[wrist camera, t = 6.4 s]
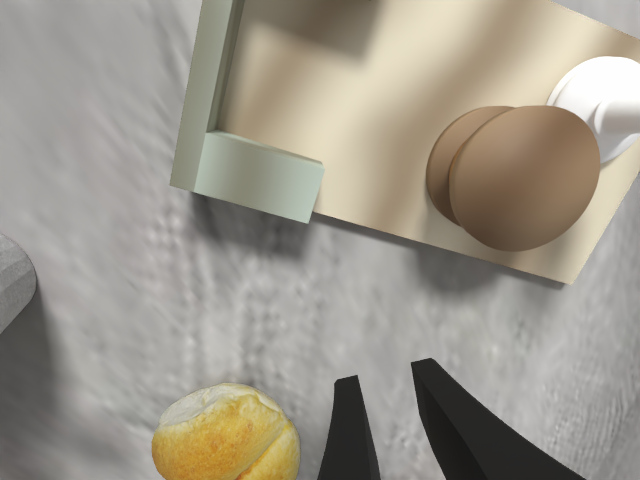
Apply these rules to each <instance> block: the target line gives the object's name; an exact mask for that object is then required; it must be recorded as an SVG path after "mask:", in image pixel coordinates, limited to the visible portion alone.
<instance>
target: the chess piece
mask: <svg viewBox="0 0 640 480" xmlns="http://www.w3.org/2000/svg"><path fill="white" fill-rule="evenodd" d="M546 105H548V106H556V107H560V108H563V109H566V110H568V111H570V112H573V113H574V114H576V115H577V116H579V117H580V118H581V119H582V120H583V121H584V122H585V123H586V124H587V125H588V126H589V128H590V129H591V130H592V132H593V134H594V136H595V138H596V140H597V144H598V147H599V152H600V163H604V162H607V161H609V160H611V159H613V158H615V157H617V156H619V155H620V154H622V153H623V152H624V151H626V150H627V149H628V148H629V147H630V146H631V145H632V144H633V143H634V142H635V141H636V140H637V139H638V137H639V136H640V64H638V63H637V62H635V61H633V60H631V59H628V58H624V57H610V56H604V57H597V58H593V59H590V60H587V61H585V62H583V63H581V64H579V65H578V66H576V67H575V68H573V69H572V70H571V71H569V72H568V73H567V74H566V75H565V76H564V77H563V78H562V79H561V80H560V81H559V83H558V84H557V85H556V87H555V88H554V90H553V91H552V93H551V95H550V97H549V99H548V101H547V104H546Z"/></svg>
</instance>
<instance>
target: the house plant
mask: <svg viewBox="0 0 640 480" xmlns="http://www.w3.org/2000/svg"><path fill="white" fill-rule="evenodd" d="M36 280H37V278H36V274H35V270H34V267H33V265H32V263H31V261H30V260H29V258H28V256H27V255H26V254H25V252H24V251H23V250H22V249H21V248H20V247H19V246H18V245H17V244H16V243H14V242H13V241H12V240H10V239H9V238H7V237H6V236H4V235H2V234H0V334H1V333H2V332H3V331H4V329H5V328H6V327H7V326H8V325H9V324H10V323H11V322H12V321H13V319H14V318H15V317H16V316H17V315H18V314H19V313H20V312H21V311H22V310H23V308H24V307H25V306H26V305H27V304H28V303H29V302H30V301H31V300H32V298H33V295H34V293H35V291H36Z"/></svg>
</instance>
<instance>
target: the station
mask: <svg viewBox="0 0 640 480" xmlns="http://www.w3.org/2000/svg"><path fill="white" fill-rule="evenodd" d="M604 56H610V57H624V58H628V59H631V60H633V61H635V62H637V63H638V64H640V40H639V39H637V38H635V37H632V36H630V35H628V34H626V33H623V32H621V31H619V30H616V29H614V28H612V27H609V26H607V25H605V24H602V23H600V22H598V21H596V20H593V19H591V18H589V17H586V16H584V15H582V14H579V13H577V12H575V11H573V10H570V9H568V8H566V7H563V6H561V5H559V4H556V3H554V2H552V1H549V0H203V1H202V6H201V12H200V17H199V23H198V29H197V34H196V40H195V45H194V51H193V57H192V62H191V68H190V73H189V79H188V84H187V90H186V96H185V101H184V107H183V112H182V118H181V123H180V129H179V135H178V140H177V146H176V151H175V157H174V162H173V168H172V174H171V179H170V186H173V187H177V188H180V189H184V190H188V191H191V192H195V193H198V194H202V195H206V196H209V197H213V198H217V199H220V200H224V201H227V202H231V203H235V204H238V205H242V206H245V207H249V208H253V209H256V210H260V211H263V212H267V213H271V214H274V215H278V216H281V217H285V218H289V219H292V220H296V221H299V222H303V223H307V224H308V223H309V219H310V216H311V213H312V211H313V212H316V213H320V214H323V215H327V216H330V217H334V218H337V219H341V220H344V221H348V222H352V223H355V224H359V225H362V226H366V227H369V228H373V229H376V230H380V231H383V232H387V233H390V234H394V235H397V236H401V237H404V238H408V239H411V240H415V241H418V242H422V243H425V244H429V245H433V246H436V247H440V248H443V249H447V250H450V251H454V252H457V253H461V254H464V255H468V256H471V257H475V258H478V259H482V260H485V261H489V262H492V263H496V264H499V265H503V266H507V267H510V268H514V269H517V270H521V271H524V272H528V273H531V274H535V275H538V276H542V277H545V278H549V279H552V280H556V281H559V282H563V283H566V284H570V285H572V284H573V283H574V281H575V279H576V278H577V276H578V274H579V272H580V271H581V269H582V267H583V266H584V264H585V262H586V261H587V259H588V257H589V256H590V254H591V252H592V250H593V249H594V247H595V245H596V244H597V242H598V240H599V239H600V237H601V235H602V234H603V232H604V230H605V228H606V227H607V225H608V223H609V222H610V220H611V218H612V217H613V215H614V213H615V212H616V210H617V208H618V207H619V205H620V203H621V201H622V200H623V198H624V196H625V195H626V193H627V191H628V190H629V188H630V186H631V185H632V183H633V181H634V179H635V178H636V176H637V174H638V173H639V171H640V136H639V137H638V139H637V140H636V141H635V142H634V143H633V144H632V145H631V146H630V147H629V148H628V149H627V150H626V151H624V152H623V153H622V154H620V155H619V156H617V157H615V158H613V159H611V160H609V161H607V162H604V163H600V152H599V147H598V144H597V140H596V138H595V136H594V134H593V132H592V130H591V129H590V128H589V126H588V125H587V124H586V123H585V122H584V121H583V120H582V119H581V118H580V117H579V116H577V115H576V114H574V113H573V112H570V111H568V110H566V109H563V108H560V107H556V106H548V105H546V104H547V101H548V99H549V97H550V95H551V93H552V91H553V90H554V88H555V87H556V85H557V84H558V83H559V81H560V80H561V79H562V78H563V77H564V76H565V75H566V74H567V73H568V72H569V71H571V70H572V69H573V68H575V67H576V66H578V65H579V64H581V63H583V62H585V61H587V60H590V59H593V58H597V57H604Z"/></svg>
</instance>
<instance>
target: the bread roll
mask: <svg viewBox="0 0 640 480" xmlns="http://www.w3.org/2000/svg"><path fill="white" fill-rule="evenodd" d="M300 449H301V448H300V439H299V435H298V432H297V429H296V427H295V426H294V424H293V423H292V422H291V421H290V420H289V419H288V418H287V417H286V415H285V414H284V412H283V410H282V409H281V408H280V406H279V405H278V404H277V403H276V402H275V401H274V400H273V399H272V398H270V397H269V396H267V395H266V394H265V393H263V392H262V391H260V390H258V389H256V388H253V387H250V386H247V385H244V384H235V383H221V384H218V385H215V386H212V387H208V388H203V389H200V390H197V391H196V392H193V393H191V394H189V395H187V396H185V397H183V398H181V399H180V400H178V401H177V402H175V403H173V404H172V405H171V406H170V407H169V408H168V409H167V410H166V411H165V412H164V413H163V414H162V416H161V418H160V420H159V426H158V428H157V429H156V431H155V433H154V436H153V439H152V457H153V461H154V464H155V466H156V468H157V470H158V472H159V473H160V474H161V475H162V477H163V478H165V479H166V480H295V479H296V477H297V474H298V470H299V465H300V458H301V450H300Z"/></svg>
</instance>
